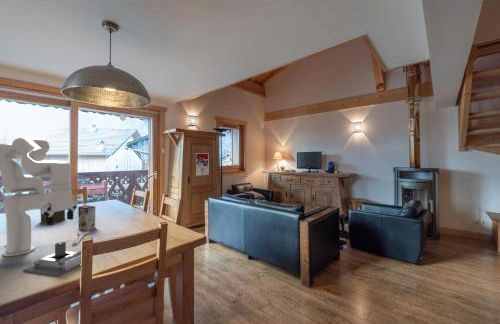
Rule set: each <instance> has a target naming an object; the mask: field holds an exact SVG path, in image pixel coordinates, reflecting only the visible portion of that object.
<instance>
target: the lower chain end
mask: <svg viewBox="0 0 500 324" xmlns="http://www.w3.org/2000/svg"><path fill="white" fill-rule="evenodd" d="M33 265H34V267H38V268H45V269H53V270H61V266H55V265H47V264H40V263H39V259H37V260H35V261H34V262H33Z"/></svg>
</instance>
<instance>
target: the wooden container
mask: <svg viewBox="0 0 500 324" xmlns="http://www.w3.org/2000/svg"><path fill="white" fill-rule="evenodd" d="M46 212H47V211H46ZM50 213H51V212H50ZM52 217H53V223H59V222H62V221H64V220H66V210H62V211H58V212H54V214H53V215H52ZM40 223H41V224H46V217H45V216H44V215H43V214H42V213H41V212H40Z"/></svg>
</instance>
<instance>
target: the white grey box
mask: <svg viewBox="0 0 500 324" xmlns="http://www.w3.org/2000/svg"><path fill="white" fill-rule="evenodd" d="M81 251H82V250H79V251H77V252H76V251H69V250H66V256H65V257H63V258H61V259H55V252H54V253H51V254H48V255H46V256H44V257H41V258H39V259H38V260H39V263H40V264H47V265H55V266H61V271H67V270H69V269H71V268H73V267H75V266H77V265H79V264H81Z"/></svg>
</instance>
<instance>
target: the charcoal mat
mask: <svg viewBox="0 0 500 324" xmlns="http://www.w3.org/2000/svg"><path fill="white" fill-rule="evenodd" d="M78 267H81V266H80V264H79V265H77V266H75V267H73V268H71V269H69V270H67V271H61V270H53V269H45V268H38V267H34V264H33V265H30V266H29V267H26V268H24V269H22V272H23V273H29V274H37V275H42V276H50V277H58V278H59V277H61V276H63V275H65V274H67V273H69V272H71V271H73V270H75V269H77V268H78Z"/></svg>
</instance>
